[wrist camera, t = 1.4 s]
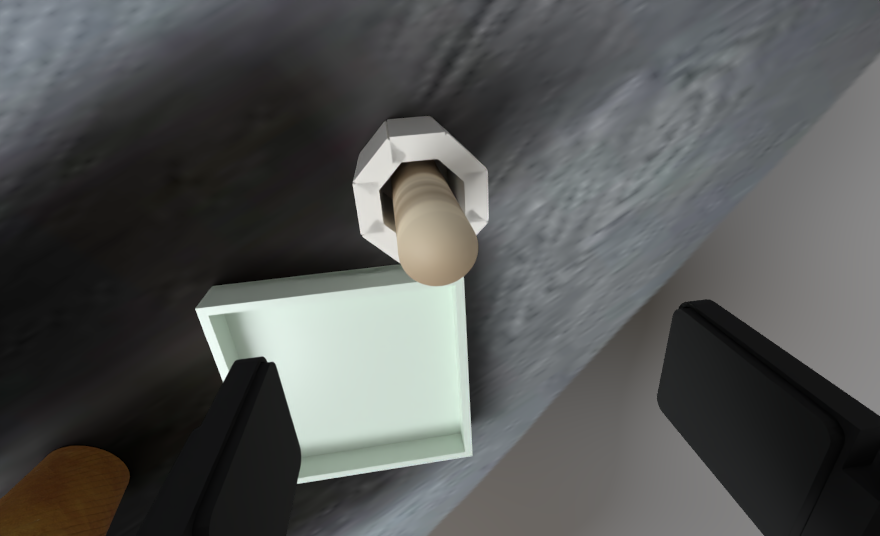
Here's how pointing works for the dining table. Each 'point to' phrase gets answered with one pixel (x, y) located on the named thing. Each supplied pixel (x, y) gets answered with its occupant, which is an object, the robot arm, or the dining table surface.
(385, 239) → the cup holder
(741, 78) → the dining table surface
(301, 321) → the tray
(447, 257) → the wooden pin
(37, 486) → the disposable coffee cup
